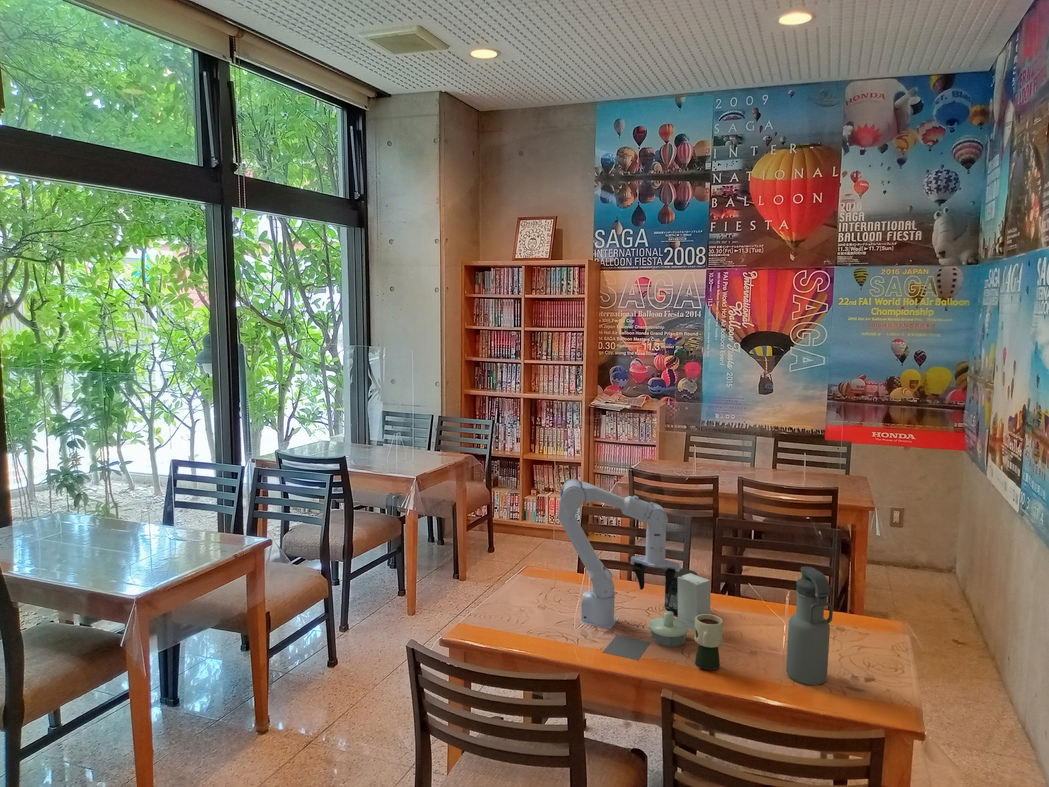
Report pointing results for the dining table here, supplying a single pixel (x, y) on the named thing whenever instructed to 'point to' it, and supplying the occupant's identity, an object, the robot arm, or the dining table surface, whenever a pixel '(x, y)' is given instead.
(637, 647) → the mat
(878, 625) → the dining table surface
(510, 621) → the dining table surface
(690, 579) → the skincare box
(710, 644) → the character mug
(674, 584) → the supplement container
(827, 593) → the water bottle
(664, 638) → the bowl
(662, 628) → the lid
